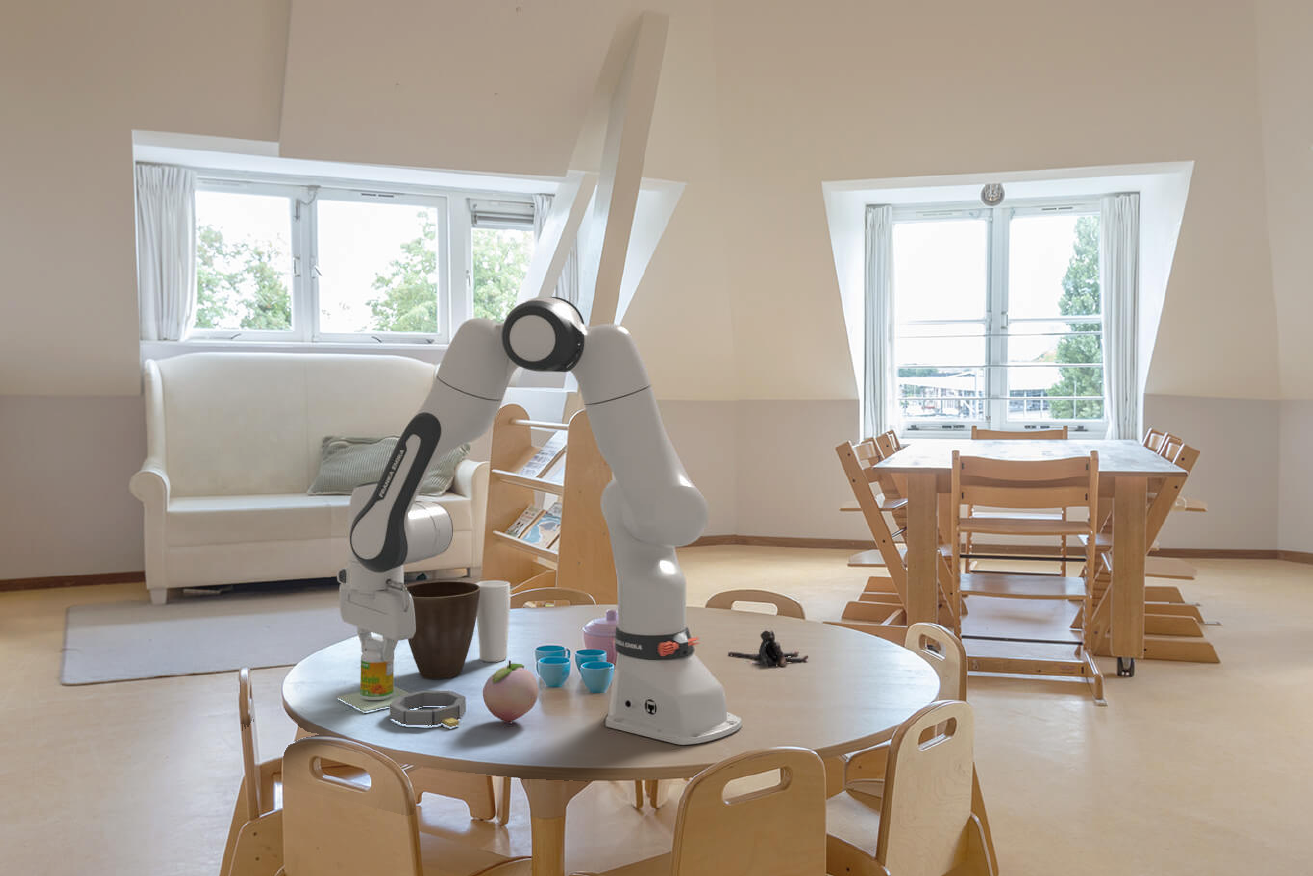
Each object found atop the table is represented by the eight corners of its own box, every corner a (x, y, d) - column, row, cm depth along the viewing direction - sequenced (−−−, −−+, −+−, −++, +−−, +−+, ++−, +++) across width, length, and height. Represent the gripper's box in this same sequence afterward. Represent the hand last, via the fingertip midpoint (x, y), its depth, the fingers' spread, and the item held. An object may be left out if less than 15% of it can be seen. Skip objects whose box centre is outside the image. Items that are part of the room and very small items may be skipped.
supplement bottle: (354, 699, 165) (354, 641, 165) (370, 690, 170) (371, 634, 170) (383, 702, 164) (384, 643, 164) (399, 693, 169) (399, 636, 169)
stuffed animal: (814, 661, 189) (763, 628, 187) (785, 704, 189) (734, 670, 187) (798, 645, 200) (751, 613, 199) (771, 685, 200) (723, 653, 199)
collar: (485, 720, 158) (484, 704, 157) (422, 736, 150) (422, 720, 150) (433, 698, 169) (433, 683, 169) (373, 712, 161) (373, 697, 161)
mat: (419, 701, 167) (419, 697, 167) (364, 714, 161) (364, 710, 161) (391, 688, 175) (391, 685, 175) (337, 700, 168) (337, 696, 168)
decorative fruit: (528, 734, 151) (528, 670, 150) (477, 731, 152) (476, 667, 152) (545, 715, 160) (545, 654, 160) (497, 712, 161) (496, 651, 161)
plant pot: (440, 690, 173) (439, 600, 173) (381, 677, 181) (380, 591, 181) (497, 670, 186) (497, 586, 185) (439, 659, 194) (439, 578, 193)
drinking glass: (514, 655, 197) (513, 580, 196) (506, 664, 190) (505, 587, 190) (481, 654, 198) (480, 579, 197) (471, 663, 191) (470, 586, 190)
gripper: (424, 581, 161) (425, 665, 162) (366, 566, 176) (367, 643, 177) (389, 587, 157) (390, 673, 157) (332, 570, 172) (333, 649, 172)
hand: (377, 657), depth 167 cm, fingers closed on supplement bottle, 5 cm apart
